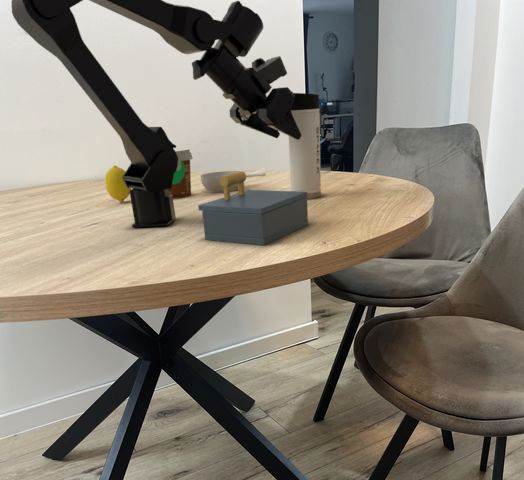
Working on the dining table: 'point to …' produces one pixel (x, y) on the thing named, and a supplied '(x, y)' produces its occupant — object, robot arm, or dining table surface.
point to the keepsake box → (255, 224)
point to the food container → (182, 176)
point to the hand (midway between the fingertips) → (288, 137)
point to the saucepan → (213, 180)
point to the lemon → (116, 184)
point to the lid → (249, 198)
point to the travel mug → (306, 146)
